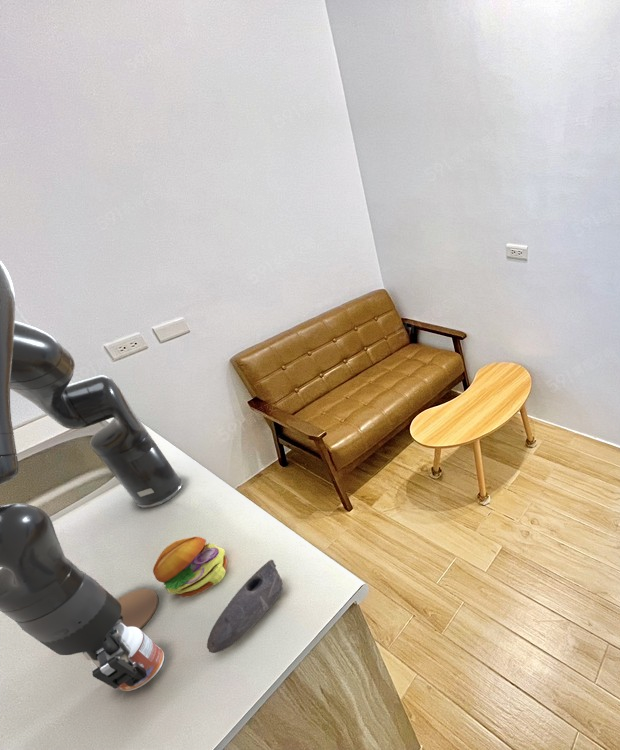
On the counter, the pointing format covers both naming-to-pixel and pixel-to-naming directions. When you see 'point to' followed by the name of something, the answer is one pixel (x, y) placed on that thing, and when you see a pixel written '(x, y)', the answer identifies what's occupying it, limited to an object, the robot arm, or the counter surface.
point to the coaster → (138, 607)
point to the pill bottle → (139, 654)
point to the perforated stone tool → (246, 608)
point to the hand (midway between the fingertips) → (134, 662)
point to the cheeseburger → (190, 566)
